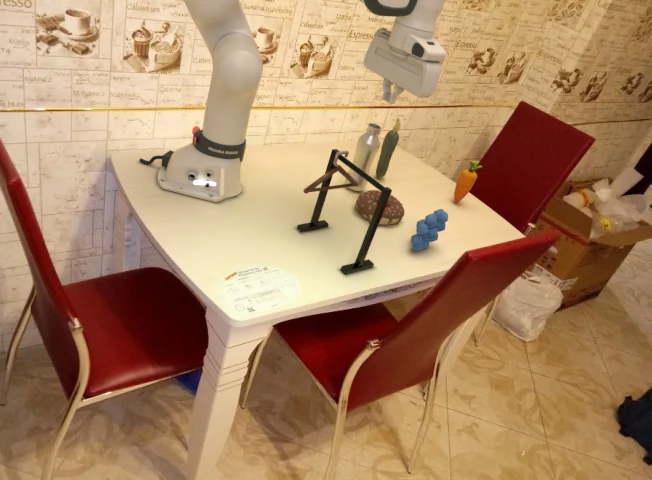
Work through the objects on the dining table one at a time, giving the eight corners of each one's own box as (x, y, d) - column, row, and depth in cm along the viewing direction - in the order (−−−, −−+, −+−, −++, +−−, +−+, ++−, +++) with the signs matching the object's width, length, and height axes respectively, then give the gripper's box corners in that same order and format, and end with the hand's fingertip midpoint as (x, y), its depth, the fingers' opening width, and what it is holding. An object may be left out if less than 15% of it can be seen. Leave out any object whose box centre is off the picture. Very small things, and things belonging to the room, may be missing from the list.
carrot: (457, 198, 169) (477, 156, 160) (466, 207, 166) (487, 164, 157) (445, 198, 167) (465, 156, 158) (453, 206, 164) (474, 163, 155)
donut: (391, 205, 155) (397, 190, 152) (406, 230, 145) (412, 215, 142) (346, 199, 152) (352, 183, 149) (358, 224, 141) (364, 208, 138)
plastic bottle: (363, 196, 156) (386, 133, 144) (341, 189, 156) (362, 126, 144) (364, 187, 161) (386, 125, 149) (344, 180, 161) (364, 119, 149)
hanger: (304, 194, 120) (316, 155, 114) (301, 192, 121) (312, 152, 115) (358, 187, 130) (371, 150, 124) (355, 185, 131) (368, 148, 125)
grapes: (421, 236, 144) (439, 198, 137) (440, 249, 140) (459, 211, 133) (395, 244, 137) (412, 205, 130) (414, 258, 134) (432, 219, 126)
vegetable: (382, 183, 166) (405, 123, 154) (369, 179, 166) (391, 119, 154) (384, 177, 170) (406, 119, 158) (371, 173, 170) (392, 115, 158)
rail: (345, 275, 121) (376, 193, 108) (296, 228, 132) (318, 149, 119) (372, 267, 126) (405, 188, 113) (323, 223, 137) (347, 147, 124)
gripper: (368, 24, 118) (350, 84, 126) (433, 55, 106) (408, 120, 114) (387, 25, 121) (368, 84, 130) (452, 56, 109) (427, 119, 118)
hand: (387, 101), depth 122 cm, fingers closed
